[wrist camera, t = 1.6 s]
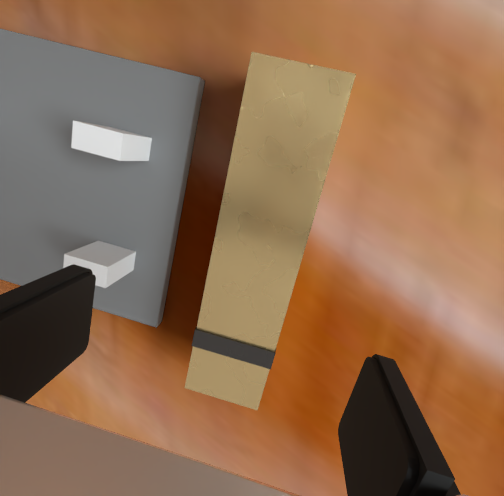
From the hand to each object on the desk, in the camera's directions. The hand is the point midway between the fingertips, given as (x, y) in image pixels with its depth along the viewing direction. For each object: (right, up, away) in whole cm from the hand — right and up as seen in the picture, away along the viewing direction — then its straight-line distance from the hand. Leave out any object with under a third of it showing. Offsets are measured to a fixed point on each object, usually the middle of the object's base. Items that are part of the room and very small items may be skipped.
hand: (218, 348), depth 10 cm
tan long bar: (+2, +4, +12) cm, 13 cm away
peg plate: (-14, +9, +13) cm, 21 cm away
